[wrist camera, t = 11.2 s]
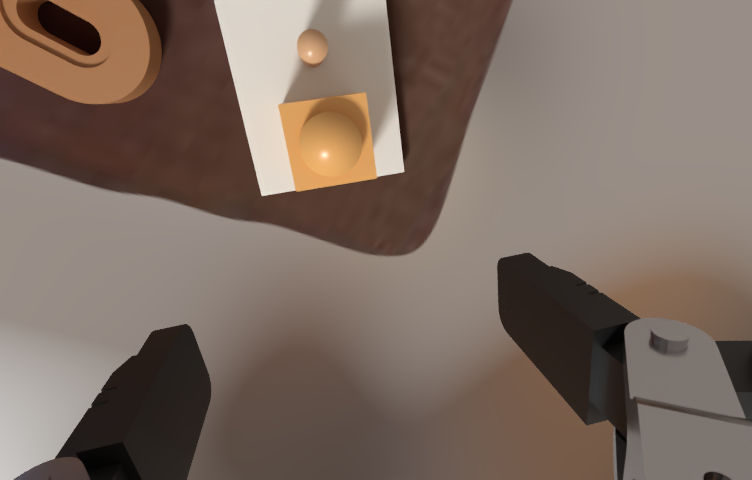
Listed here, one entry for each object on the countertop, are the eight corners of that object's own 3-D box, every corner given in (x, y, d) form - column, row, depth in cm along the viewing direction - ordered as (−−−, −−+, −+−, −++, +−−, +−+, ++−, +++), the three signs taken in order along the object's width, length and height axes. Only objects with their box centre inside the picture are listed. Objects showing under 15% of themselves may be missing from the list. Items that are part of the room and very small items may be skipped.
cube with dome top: (297, 175, 32) (295, 195, 26) (282, 103, 30) (276, 105, 24) (364, 164, 33) (379, 181, 26) (354, 92, 31) (368, 92, 24)
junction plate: (263, 191, 34) (256, 209, 29) (218, 4, 29) (199, -15, 24) (400, 168, 35) (416, 181, 30) (380, -14, 30) (395, -36, 25)
